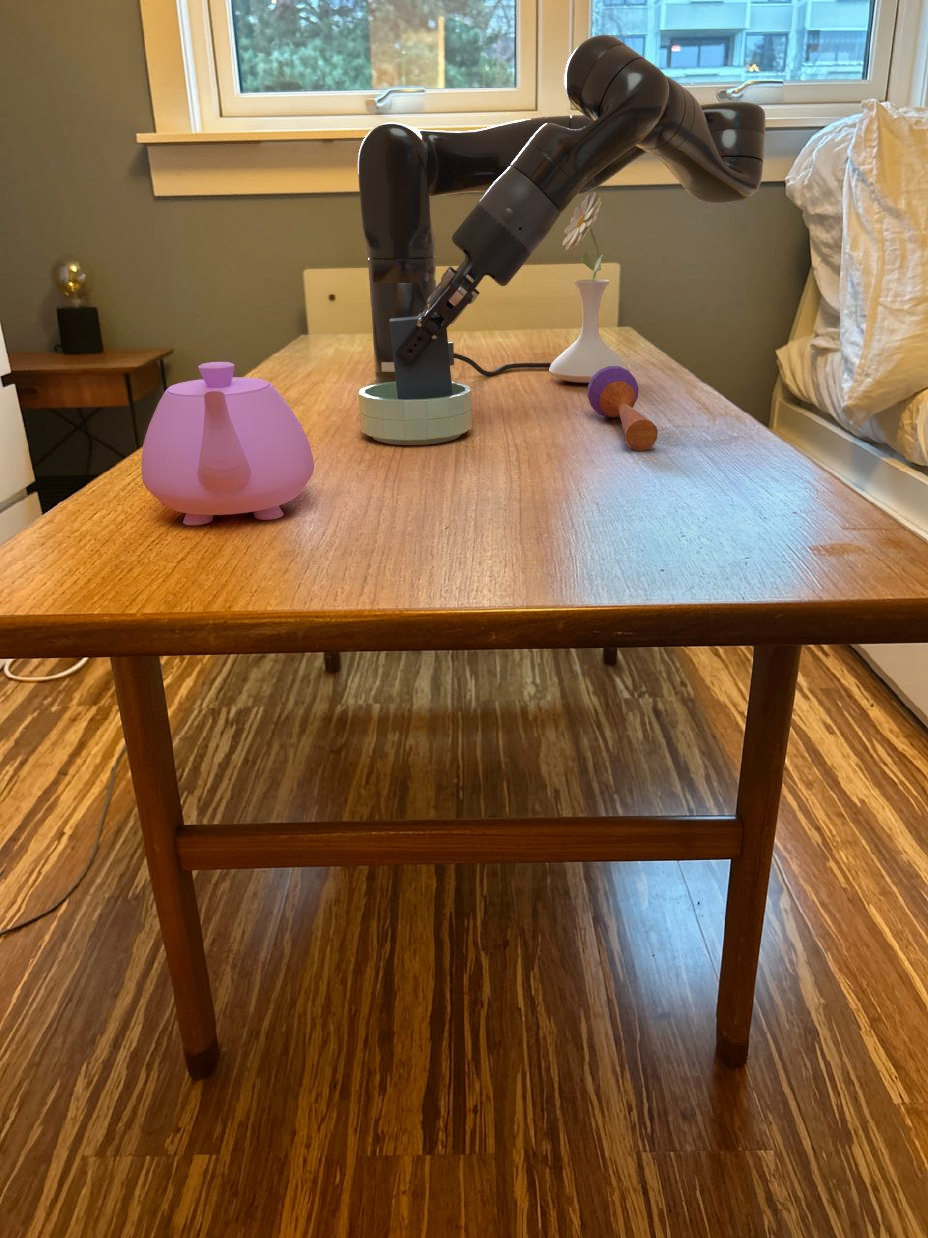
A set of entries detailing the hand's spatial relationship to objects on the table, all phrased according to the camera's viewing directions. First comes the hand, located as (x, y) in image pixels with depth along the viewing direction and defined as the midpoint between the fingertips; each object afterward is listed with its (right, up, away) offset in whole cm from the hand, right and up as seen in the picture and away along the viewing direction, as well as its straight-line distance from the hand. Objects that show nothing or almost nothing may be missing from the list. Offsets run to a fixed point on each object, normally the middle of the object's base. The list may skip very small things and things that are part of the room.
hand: (402, 357), depth 98 cm
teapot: (-13, -19, -21) cm, 31 cm away
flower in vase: (+25, +6, +32) cm, 41 cm away
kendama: (+25, -7, +4) cm, 26 cm away
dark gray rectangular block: (+2, -4, +2) cm, 5 cm away
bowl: (+1, -8, +4) cm, 9 cm away
